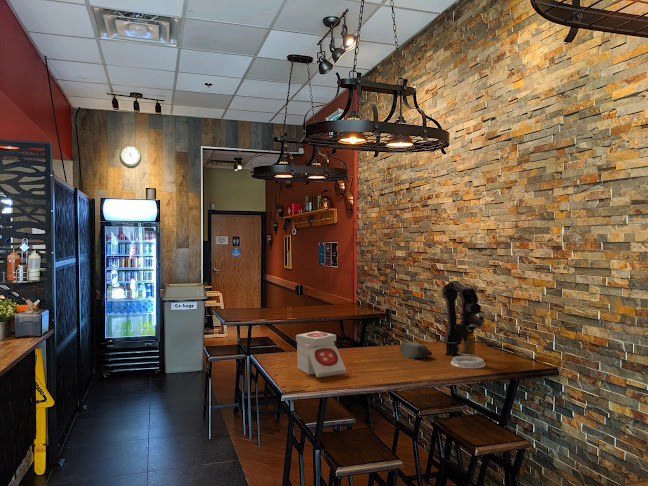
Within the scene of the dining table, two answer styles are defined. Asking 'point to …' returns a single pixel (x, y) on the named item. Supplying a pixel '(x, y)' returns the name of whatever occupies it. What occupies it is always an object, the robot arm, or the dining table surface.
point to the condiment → (469, 344)
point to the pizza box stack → (318, 354)
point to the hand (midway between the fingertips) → (467, 340)
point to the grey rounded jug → (414, 350)
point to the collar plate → (468, 362)
